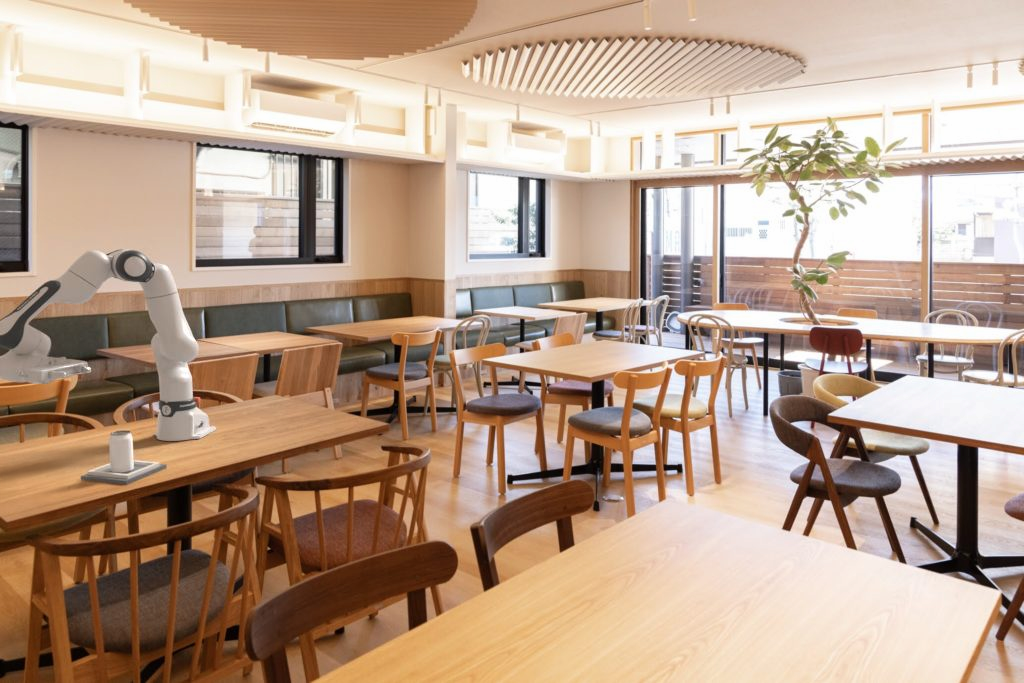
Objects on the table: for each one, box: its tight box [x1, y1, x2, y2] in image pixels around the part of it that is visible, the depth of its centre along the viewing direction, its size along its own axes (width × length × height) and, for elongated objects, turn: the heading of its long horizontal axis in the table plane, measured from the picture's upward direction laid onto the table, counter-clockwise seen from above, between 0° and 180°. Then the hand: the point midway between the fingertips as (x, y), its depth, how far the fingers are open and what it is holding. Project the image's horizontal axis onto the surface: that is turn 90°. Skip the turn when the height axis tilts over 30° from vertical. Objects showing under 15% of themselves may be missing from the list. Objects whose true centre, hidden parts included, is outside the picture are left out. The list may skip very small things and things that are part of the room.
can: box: [108, 429, 135, 473], centre depth 244 cm, size 6×6×12 cm
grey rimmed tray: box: [80, 459, 167, 485], centre depth 246 cm, size 18×16×2 cm
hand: (78, 372), depth 250 cm, fingers open, 8 cm apart
